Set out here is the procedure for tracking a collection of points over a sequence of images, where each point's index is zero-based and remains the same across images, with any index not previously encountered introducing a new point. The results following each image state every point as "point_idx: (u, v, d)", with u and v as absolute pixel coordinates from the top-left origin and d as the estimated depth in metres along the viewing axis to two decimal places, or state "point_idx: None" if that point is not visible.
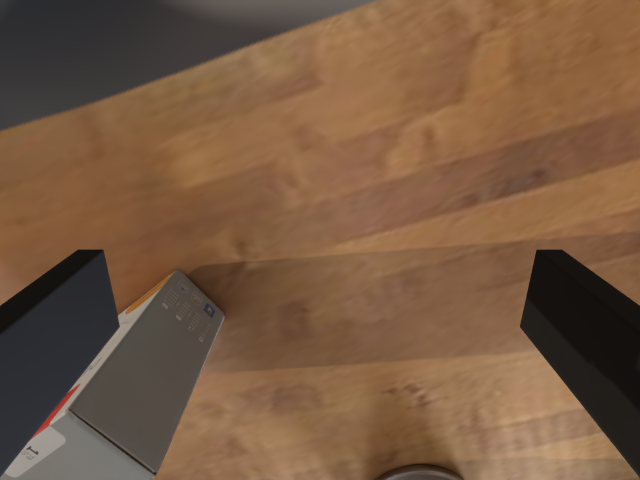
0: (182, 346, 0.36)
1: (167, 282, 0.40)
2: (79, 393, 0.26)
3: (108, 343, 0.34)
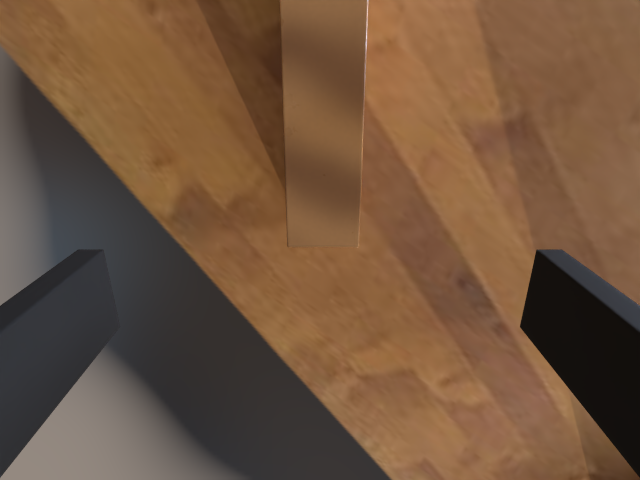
0: None
1: None
2: None
3: None
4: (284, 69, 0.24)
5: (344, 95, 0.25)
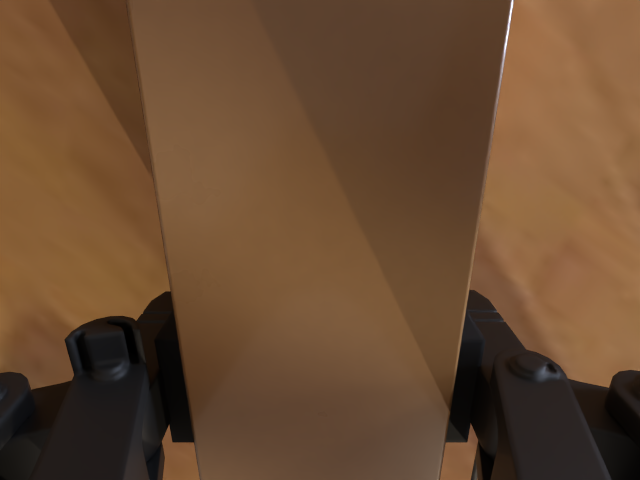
0: None
1: None
2: None
3: None
4: (142, 42, 0.05)
5: (407, 156, 0.06)
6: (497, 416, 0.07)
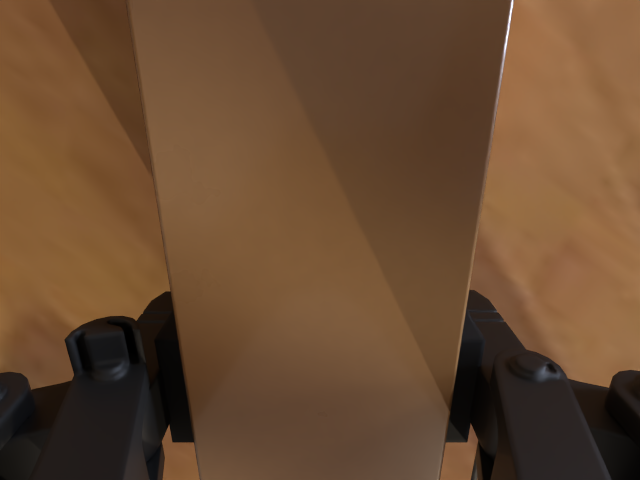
0: None
1: None
2: None
3: None
4: (142, 42, 0.05)
5: (407, 156, 0.06)
6: (497, 416, 0.07)
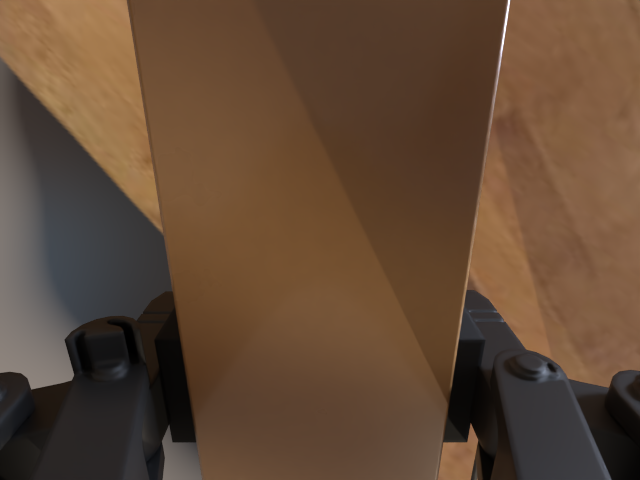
0: None
1: None
2: None
3: None
4: (144, 47, 0.05)
5: (404, 157, 0.06)
6: (497, 416, 0.07)
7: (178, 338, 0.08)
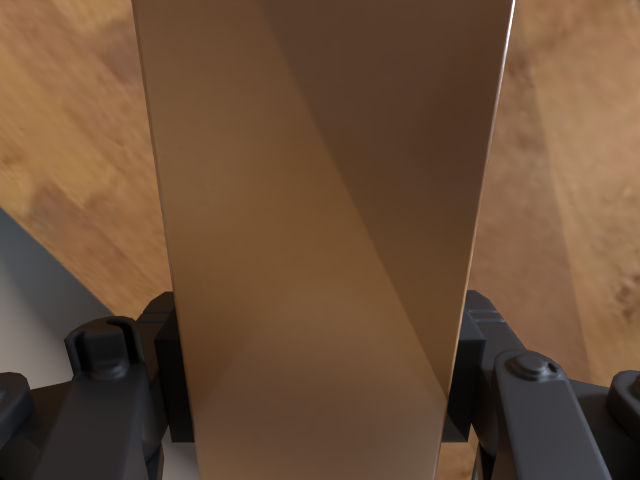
0: None
1: None
2: None
3: None
4: (148, 46, 0.05)
5: (406, 160, 0.06)
6: (497, 416, 0.07)
7: (178, 338, 0.08)
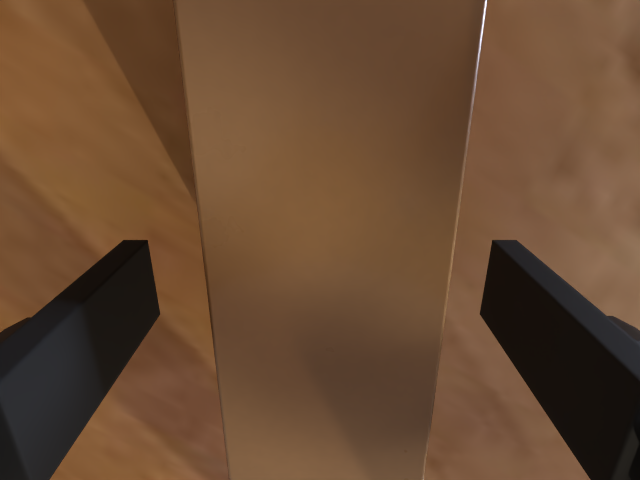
0: None
1: None
2: None
3: None
4: (184, 20, 0.07)
5: (401, 117, 0.07)
6: None
7: None
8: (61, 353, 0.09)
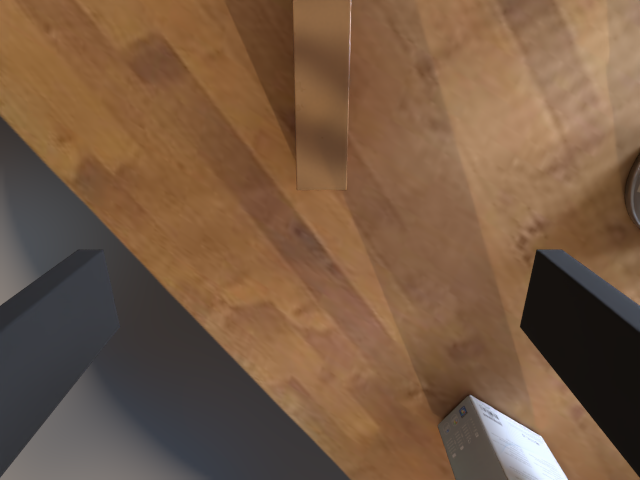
0: (476, 457, 0.53)
1: (443, 442, 0.60)
2: None
3: None
4: (295, 65, 0.37)
5: (335, 83, 0.37)
6: None
7: None
8: None
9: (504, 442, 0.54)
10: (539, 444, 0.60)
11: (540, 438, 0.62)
